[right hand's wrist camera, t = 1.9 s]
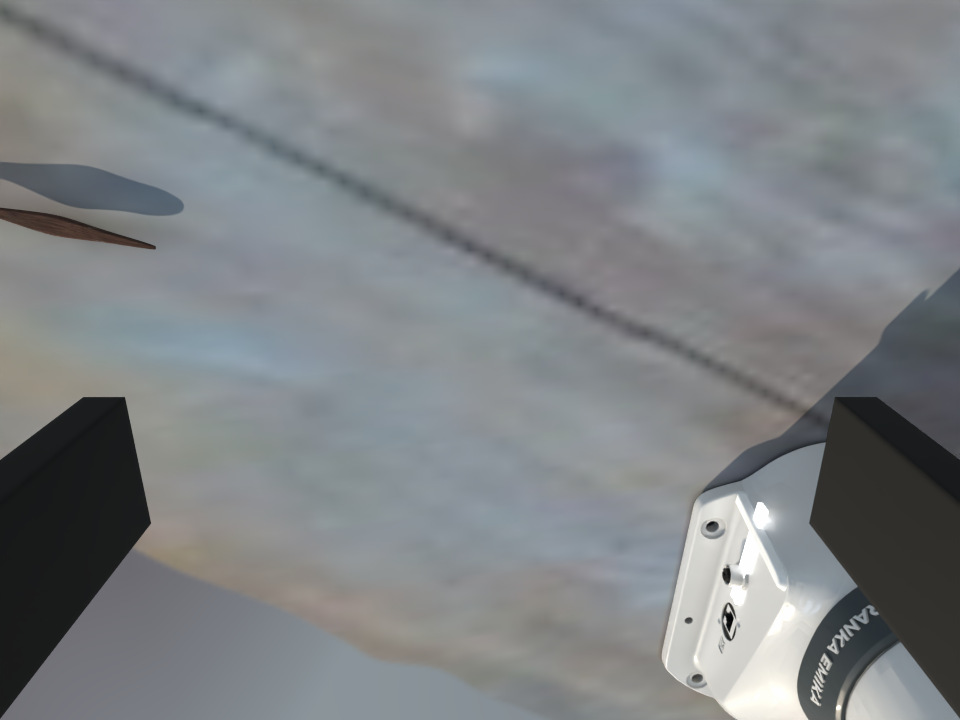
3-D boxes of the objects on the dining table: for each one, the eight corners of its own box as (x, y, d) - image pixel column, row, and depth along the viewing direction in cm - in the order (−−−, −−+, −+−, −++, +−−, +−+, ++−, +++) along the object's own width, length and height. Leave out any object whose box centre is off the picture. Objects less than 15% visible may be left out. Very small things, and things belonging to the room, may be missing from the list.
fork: (158, 267, 40) (142, 276, 38) (-127, 204, 38) (-158, 209, 37) (161, 224, 39) (144, 230, 37) (-131, 157, 38) (-163, 161, 36)
